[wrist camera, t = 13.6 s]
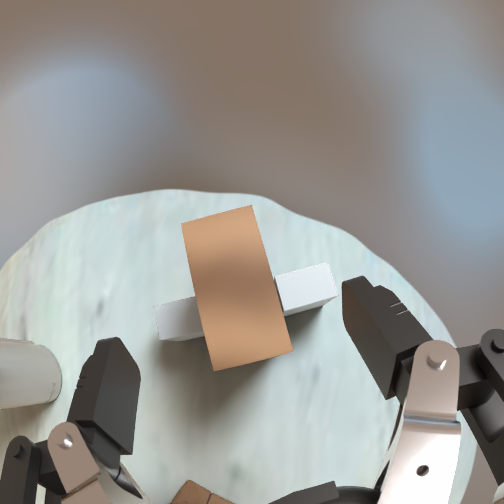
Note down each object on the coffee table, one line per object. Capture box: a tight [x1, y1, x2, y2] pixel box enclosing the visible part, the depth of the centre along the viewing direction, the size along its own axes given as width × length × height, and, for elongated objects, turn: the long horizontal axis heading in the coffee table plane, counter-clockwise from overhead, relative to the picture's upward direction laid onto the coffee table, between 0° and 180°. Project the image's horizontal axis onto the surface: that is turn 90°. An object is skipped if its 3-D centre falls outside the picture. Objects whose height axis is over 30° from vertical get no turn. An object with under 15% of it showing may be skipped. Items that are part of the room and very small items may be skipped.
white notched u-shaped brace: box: [153, 262, 338, 341], centre depth 32 cm, size 18×4×8 cm, turn 104°
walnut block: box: [181, 205, 293, 371], centre depth 27 cm, size 10×5×18 cm, turn 15°
